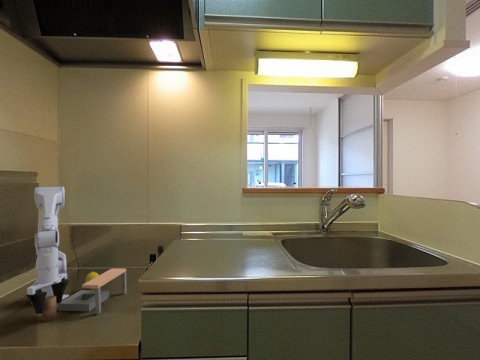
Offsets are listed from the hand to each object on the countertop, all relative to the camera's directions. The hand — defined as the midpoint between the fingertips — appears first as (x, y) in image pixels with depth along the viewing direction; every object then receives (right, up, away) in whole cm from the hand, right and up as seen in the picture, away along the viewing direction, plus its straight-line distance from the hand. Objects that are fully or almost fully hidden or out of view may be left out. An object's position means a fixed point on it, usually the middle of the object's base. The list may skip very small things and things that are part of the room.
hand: (49, 307), depth 93 cm
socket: (+5, -4, +12) cm, 13 cm away
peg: (0, -4, 0) cm, 4 cm away
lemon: (+2, -4, +24) cm, 24 cm away
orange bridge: (+14, -3, +12) cm, 18 cm away
